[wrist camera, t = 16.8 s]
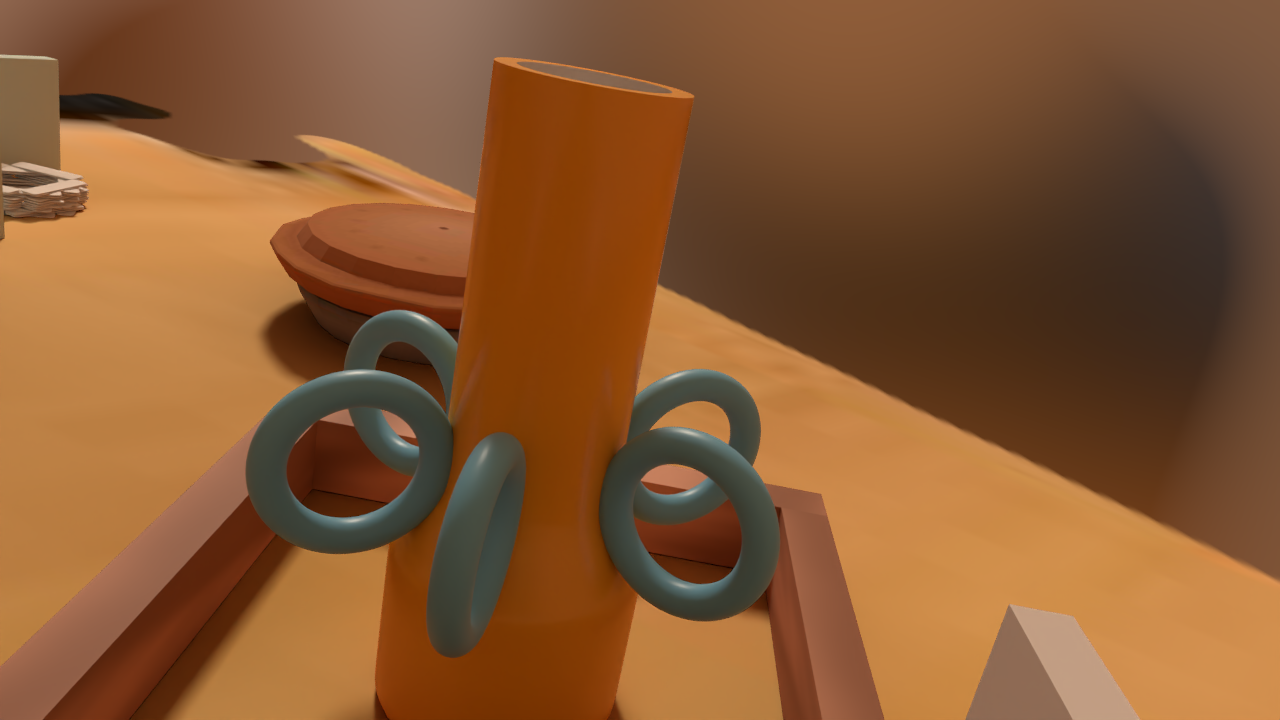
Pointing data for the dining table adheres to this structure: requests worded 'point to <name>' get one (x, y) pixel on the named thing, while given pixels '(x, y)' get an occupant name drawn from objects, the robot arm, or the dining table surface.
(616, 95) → the orange post with rings
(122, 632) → the rail frame
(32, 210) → the right angle wall
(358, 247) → the pie
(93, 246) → the dining table surface
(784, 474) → the dining table surface
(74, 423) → the dining table surface
